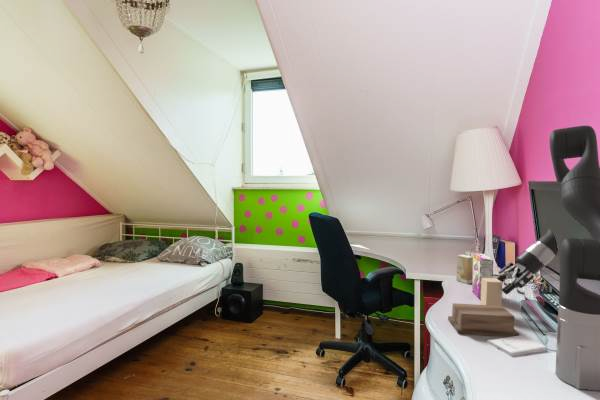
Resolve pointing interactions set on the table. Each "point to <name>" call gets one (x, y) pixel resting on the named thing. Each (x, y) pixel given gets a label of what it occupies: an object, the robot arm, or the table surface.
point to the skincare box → (464, 269)
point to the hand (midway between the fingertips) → (498, 288)
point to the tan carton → (491, 292)
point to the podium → (482, 320)
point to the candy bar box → (481, 271)
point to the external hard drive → (517, 345)
